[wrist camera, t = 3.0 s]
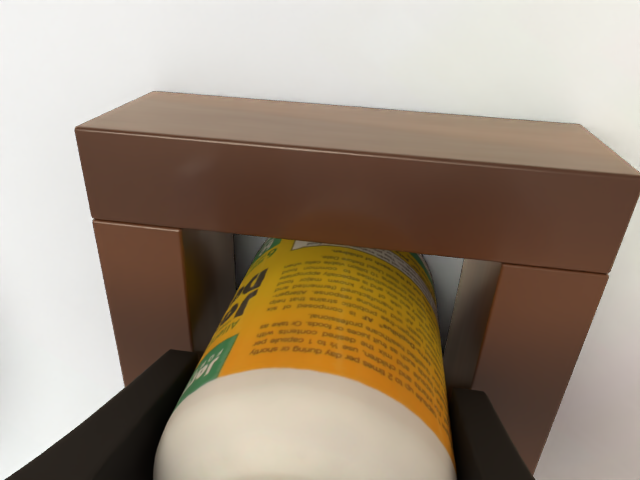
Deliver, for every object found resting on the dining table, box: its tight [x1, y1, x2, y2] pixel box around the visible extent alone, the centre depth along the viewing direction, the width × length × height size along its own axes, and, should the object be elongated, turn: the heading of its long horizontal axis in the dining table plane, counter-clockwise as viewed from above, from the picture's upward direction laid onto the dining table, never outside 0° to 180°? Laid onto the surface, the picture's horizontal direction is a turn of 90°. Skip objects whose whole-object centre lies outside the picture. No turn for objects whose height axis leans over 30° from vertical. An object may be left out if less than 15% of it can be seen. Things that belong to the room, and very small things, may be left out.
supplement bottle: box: [153, 237, 457, 480], centre depth 10 cm, size 5×5×10 cm
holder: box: [75, 91, 640, 475], centre depth 15 cm, size 19×10×4 cm, turn 177°
